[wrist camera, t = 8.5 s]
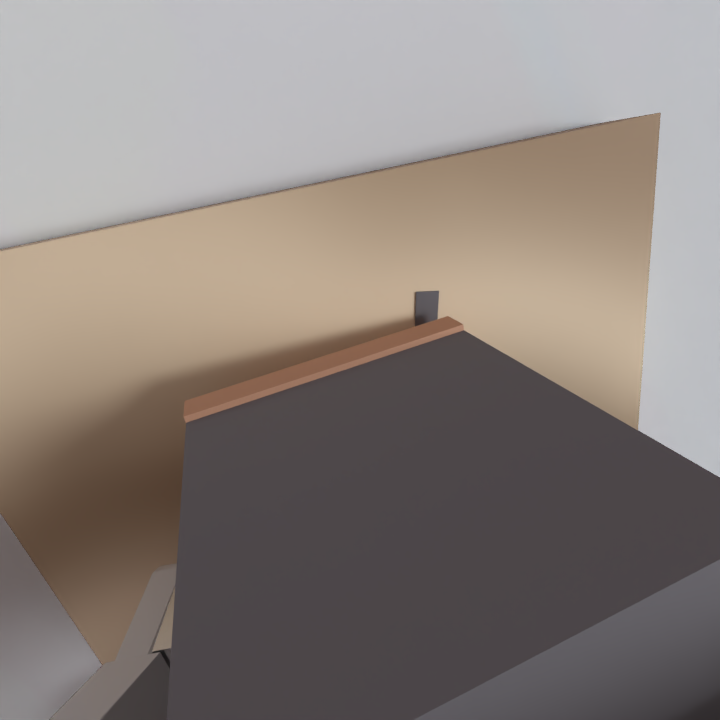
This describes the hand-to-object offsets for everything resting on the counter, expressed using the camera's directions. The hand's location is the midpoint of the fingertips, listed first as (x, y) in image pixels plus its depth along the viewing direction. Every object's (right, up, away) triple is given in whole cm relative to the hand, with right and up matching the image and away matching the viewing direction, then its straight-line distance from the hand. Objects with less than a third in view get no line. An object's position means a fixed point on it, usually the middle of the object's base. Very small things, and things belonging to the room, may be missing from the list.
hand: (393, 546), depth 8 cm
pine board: (-1, +1, +3) cm, 3 cm away
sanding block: (0, 0, +1) cm, 1 cm away
